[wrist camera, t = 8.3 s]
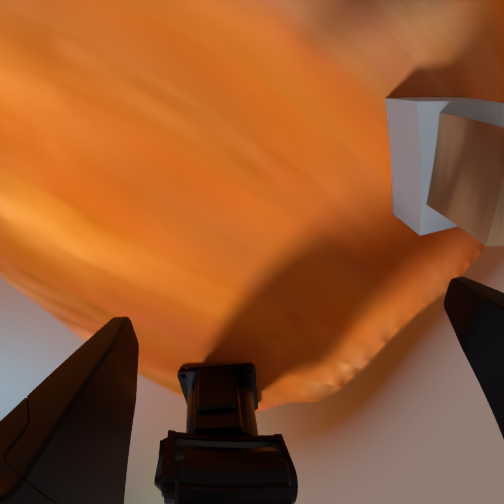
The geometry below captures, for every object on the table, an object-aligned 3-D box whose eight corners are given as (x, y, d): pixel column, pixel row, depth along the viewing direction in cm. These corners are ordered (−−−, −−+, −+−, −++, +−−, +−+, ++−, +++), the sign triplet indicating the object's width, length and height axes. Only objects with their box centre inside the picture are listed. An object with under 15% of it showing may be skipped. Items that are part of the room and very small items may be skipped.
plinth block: (470, 196, 21) (502, 214, 18) (390, 212, 21) (419, 235, 18) (470, 97, 18) (506, 103, 14) (382, 98, 17) (416, 101, 14)
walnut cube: (484, 209, 17) (540, 245, 12) (426, 204, 17) (485, 246, 12) (498, 130, 15) (561, 151, 10) (439, 112, 14) (510, 129, 9)
